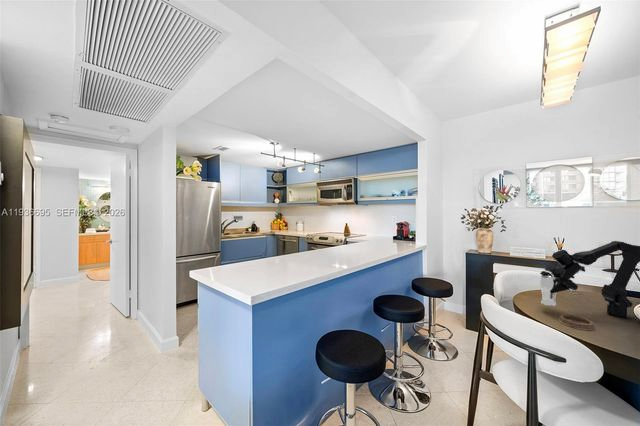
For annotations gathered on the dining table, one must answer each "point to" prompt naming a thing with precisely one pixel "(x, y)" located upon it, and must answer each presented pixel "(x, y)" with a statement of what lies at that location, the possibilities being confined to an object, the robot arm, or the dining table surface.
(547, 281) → the beer glass
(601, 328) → the dining table surface
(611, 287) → the robot arm
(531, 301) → the dining table surface
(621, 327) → the dining table surface
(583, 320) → the faceted bowl
